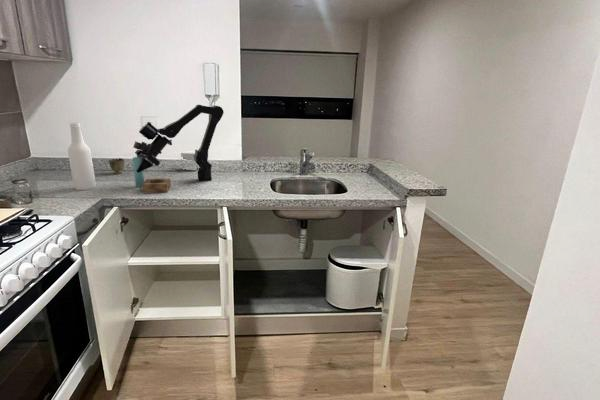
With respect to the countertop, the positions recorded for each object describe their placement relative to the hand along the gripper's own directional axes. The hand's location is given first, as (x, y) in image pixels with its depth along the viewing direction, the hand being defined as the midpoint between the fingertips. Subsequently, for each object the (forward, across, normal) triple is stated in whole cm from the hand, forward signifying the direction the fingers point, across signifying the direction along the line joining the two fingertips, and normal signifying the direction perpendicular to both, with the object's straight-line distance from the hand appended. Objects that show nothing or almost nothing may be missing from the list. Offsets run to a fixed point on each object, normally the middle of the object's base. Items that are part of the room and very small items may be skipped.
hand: (135, 171), depth 165 cm
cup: (+5, -34, +6) cm, 35 cm away
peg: (+4, 0, +6) cm, 8 cm away
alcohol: (+20, -11, -8) cm, 24 cm away
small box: (-20, -21, +32) cm, 43 cm away
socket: (+1, +11, +9) cm, 14 cm away
